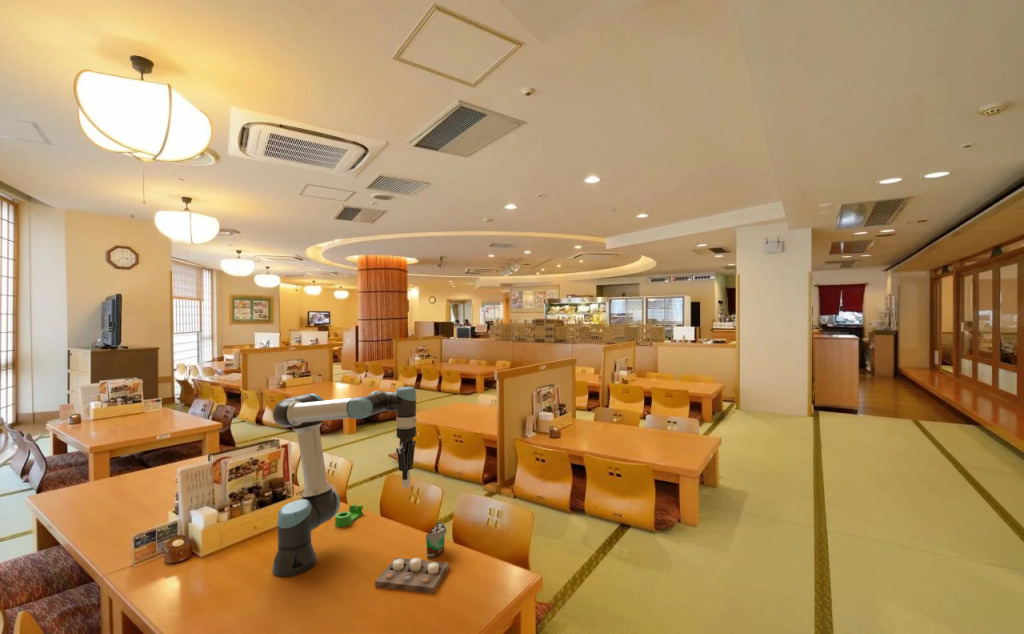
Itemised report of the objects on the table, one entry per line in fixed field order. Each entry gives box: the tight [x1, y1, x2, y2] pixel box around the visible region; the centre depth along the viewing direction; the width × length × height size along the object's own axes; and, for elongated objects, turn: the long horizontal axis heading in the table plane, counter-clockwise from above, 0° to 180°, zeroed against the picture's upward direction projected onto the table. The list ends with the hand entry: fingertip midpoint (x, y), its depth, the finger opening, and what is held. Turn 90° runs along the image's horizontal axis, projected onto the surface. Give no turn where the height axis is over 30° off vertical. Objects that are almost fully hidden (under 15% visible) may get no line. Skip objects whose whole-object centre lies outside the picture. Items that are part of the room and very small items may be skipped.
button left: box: [392, 559, 404, 571], centre depth 164 cm, size 4×4×3 cm
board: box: [374, 557, 450, 595], centre depth 161 cm, size 22×16×2 cm
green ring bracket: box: [334, 504, 364, 528], centre depth 209 cm, size 15×7×5 cm, turn 167°
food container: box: [425, 521, 448, 559], centre depth 178 cm, size 12×6×10 cm, turn 168°
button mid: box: [410, 557, 422, 573], centre depth 163 cm, size 4×4×3 cm
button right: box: [428, 563, 439, 575], centre depth 161 cm, size 4×4×3 cm
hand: (406, 486), depth 171 cm, fingers closed
